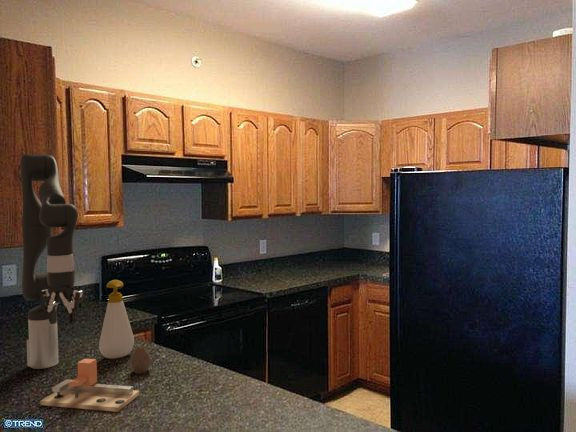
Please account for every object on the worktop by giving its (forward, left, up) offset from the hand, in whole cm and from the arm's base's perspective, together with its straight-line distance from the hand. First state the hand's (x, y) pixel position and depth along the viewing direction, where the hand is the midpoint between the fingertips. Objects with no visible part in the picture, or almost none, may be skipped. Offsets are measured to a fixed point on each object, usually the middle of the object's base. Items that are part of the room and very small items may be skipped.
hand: (62, 323), depth 150 cm
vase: (+14, +21, -22) cm, 33 cm away
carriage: (+8, -2, -20) cm, 22 cm away
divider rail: (+11, -3, -20) cm, 23 cm away
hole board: (+11, -3, -22) cm, 24 cm away
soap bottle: (-2, +33, -22) cm, 40 cm away
